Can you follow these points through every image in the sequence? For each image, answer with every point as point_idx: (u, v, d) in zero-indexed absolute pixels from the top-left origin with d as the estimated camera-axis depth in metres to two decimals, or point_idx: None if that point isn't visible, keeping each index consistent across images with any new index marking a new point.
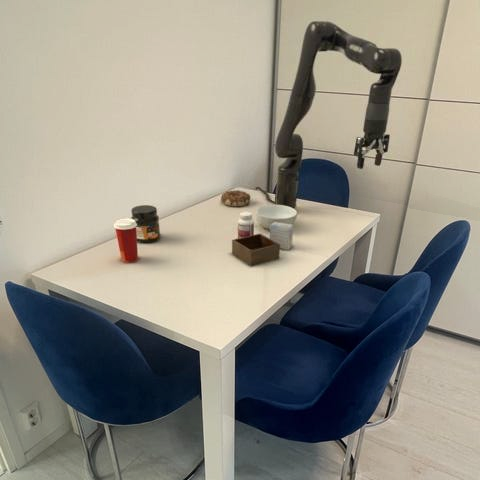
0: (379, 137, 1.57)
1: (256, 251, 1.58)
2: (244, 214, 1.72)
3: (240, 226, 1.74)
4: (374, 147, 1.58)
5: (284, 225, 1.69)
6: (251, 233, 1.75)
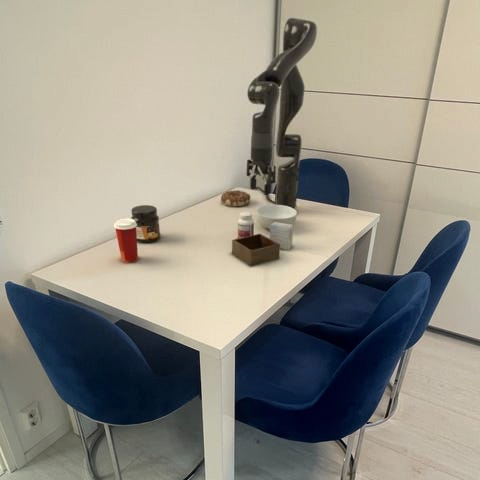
0: (261, 165, 1.61)
1: (256, 251, 1.58)
2: (244, 214, 1.72)
3: (239, 226, 1.74)
4: (258, 173, 1.64)
5: (284, 225, 1.69)
6: (251, 233, 1.75)
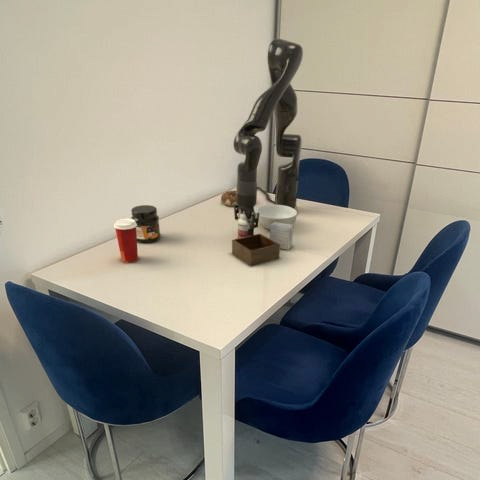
0: (246, 210, 1.70)
1: (256, 251, 1.58)
2: None
3: (239, 226, 1.74)
4: None
5: (284, 225, 1.69)
6: None
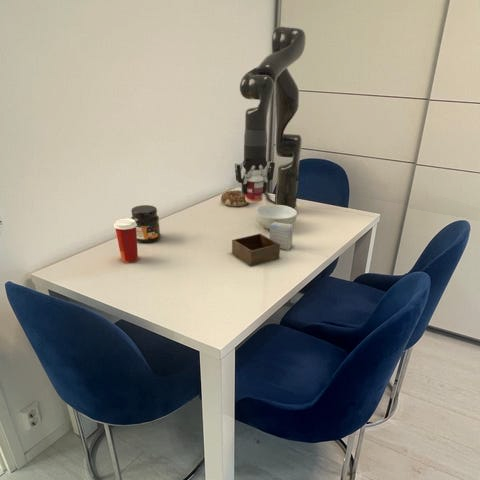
0: (261, 163, 1.54)
1: (256, 251, 1.58)
2: None
3: (258, 184, 1.55)
4: None
5: (284, 225, 1.69)
6: None
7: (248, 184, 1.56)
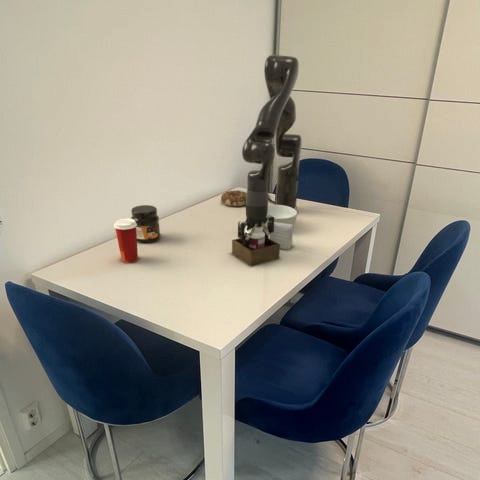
0: (262, 220, 1.60)
1: (256, 251, 1.58)
2: None
3: (262, 240, 1.61)
4: None
5: (284, 225, 1.69)
6: None
7: (252, 241, 1.61)
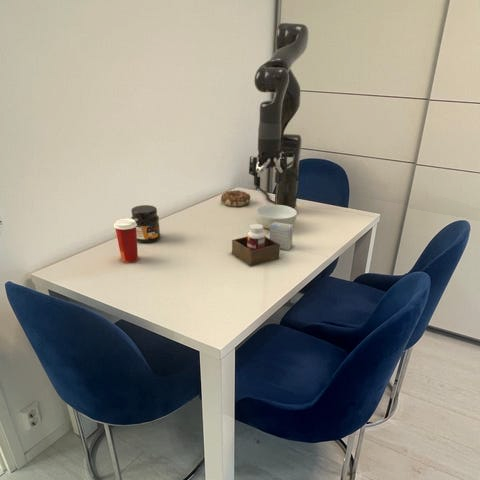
0: (275, 156, 1.54)
1: (256, 251, 1.58)
2: (259, 226, 1.60)
3: (262, 240, 1.61)
4: (270, 166, 1.55)
5: (284, 225, 1.69)
6: None
7: (252, 241, 1.61)
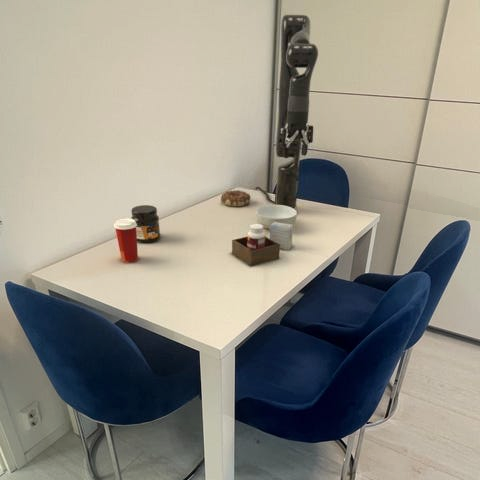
0: (302, 128, 1.66)
1: (256, 251, 1.58)
2: (259, 226, 1.60)
3: (262, 240, 1.61)
4: (298, 137, 1.67)
5: (284, 225, 1.69)
6: None
7: (252, 241, 1.61)
